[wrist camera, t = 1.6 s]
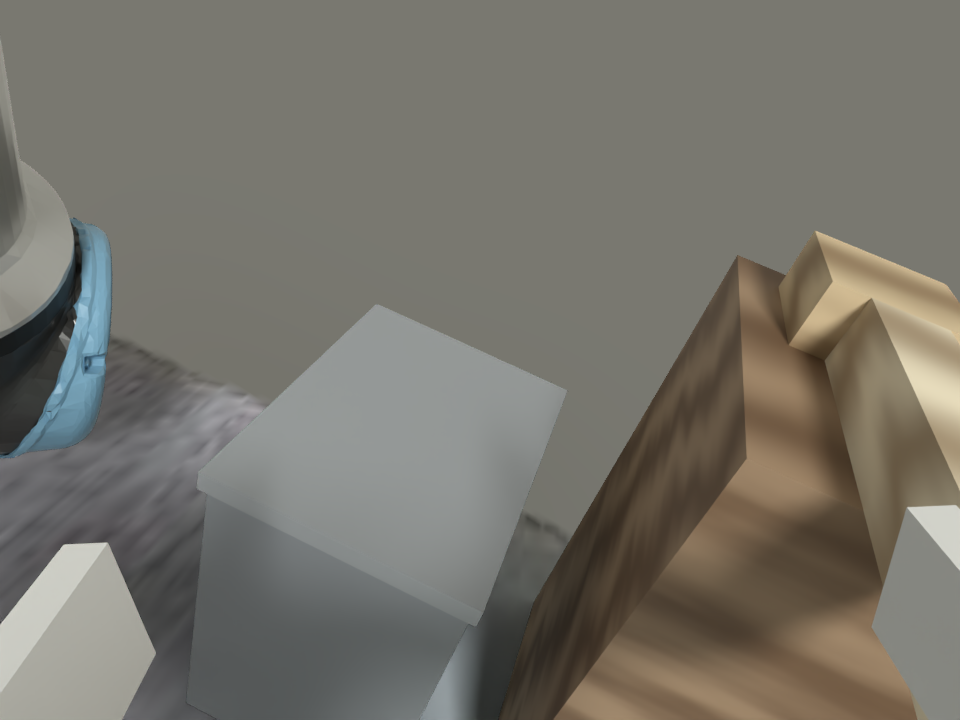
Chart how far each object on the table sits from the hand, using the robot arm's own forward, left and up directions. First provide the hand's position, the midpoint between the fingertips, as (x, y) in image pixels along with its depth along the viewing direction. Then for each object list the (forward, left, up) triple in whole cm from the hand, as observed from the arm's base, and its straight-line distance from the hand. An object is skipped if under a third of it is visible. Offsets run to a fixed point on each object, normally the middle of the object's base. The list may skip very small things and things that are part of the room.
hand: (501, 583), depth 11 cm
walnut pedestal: (+4, +20, -31) cm, 38 cm away
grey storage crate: (-11, +14, -31) cm, 36 cm away
